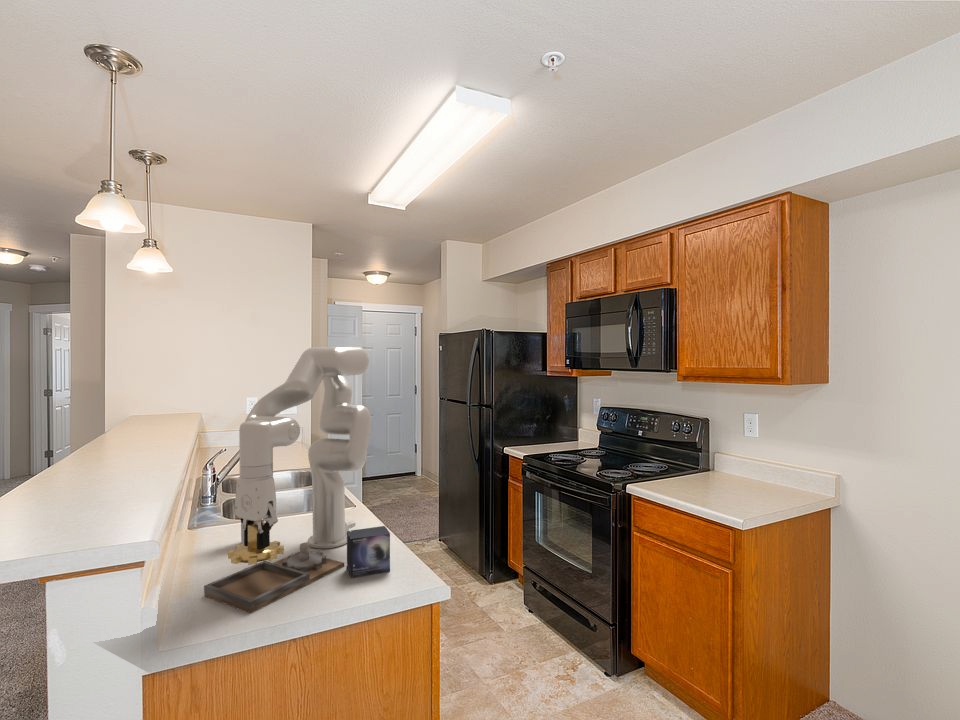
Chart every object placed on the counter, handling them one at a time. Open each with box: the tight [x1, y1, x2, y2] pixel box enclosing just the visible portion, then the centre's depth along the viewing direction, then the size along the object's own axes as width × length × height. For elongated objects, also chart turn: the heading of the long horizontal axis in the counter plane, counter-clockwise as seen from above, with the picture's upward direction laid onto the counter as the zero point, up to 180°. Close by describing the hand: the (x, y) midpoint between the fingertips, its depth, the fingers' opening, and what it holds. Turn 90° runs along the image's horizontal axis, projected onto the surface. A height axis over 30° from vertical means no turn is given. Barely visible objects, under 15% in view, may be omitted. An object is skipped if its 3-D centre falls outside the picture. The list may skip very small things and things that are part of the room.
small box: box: [346, 525, 391, 579], centre depth 138 cm, size 11×6×10 cm, turn 114°
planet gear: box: [227, 521, 285, 566], centre depth 127 cm, size 12×12×8 cm
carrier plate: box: [203, 542, 345, 614], centre depth 133 cm, size 29×17×6 cm, turn 150°
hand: (256, 545), depth 127 cm, fingers closed on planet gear, 4 cm apart
